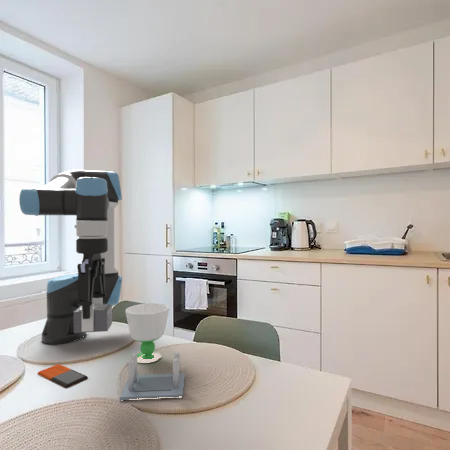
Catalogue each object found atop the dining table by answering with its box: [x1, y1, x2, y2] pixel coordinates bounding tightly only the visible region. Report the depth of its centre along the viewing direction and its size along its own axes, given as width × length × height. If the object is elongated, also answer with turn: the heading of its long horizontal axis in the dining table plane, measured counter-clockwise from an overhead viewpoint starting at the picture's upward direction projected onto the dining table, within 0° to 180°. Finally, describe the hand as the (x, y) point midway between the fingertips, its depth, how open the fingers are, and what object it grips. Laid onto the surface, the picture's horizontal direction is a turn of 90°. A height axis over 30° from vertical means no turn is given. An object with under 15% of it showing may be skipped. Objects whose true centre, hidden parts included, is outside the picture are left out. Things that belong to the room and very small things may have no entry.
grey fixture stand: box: [119, 351, 186, 402], centre depth 81 cm, size 11×15×8 cm
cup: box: [124, 302, 170, 359], centre depth 100 cm, size 14×14×16 cm
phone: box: [37, 363, 89, 389], centre depth 88 cm, size 6×1×15 cm
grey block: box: [73, 304, 113, 333], centre depth 81 cm, size 6×8×6 cm
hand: (92, 326), depth 81 cm, fingers closed on grey block, 6 cm apart
